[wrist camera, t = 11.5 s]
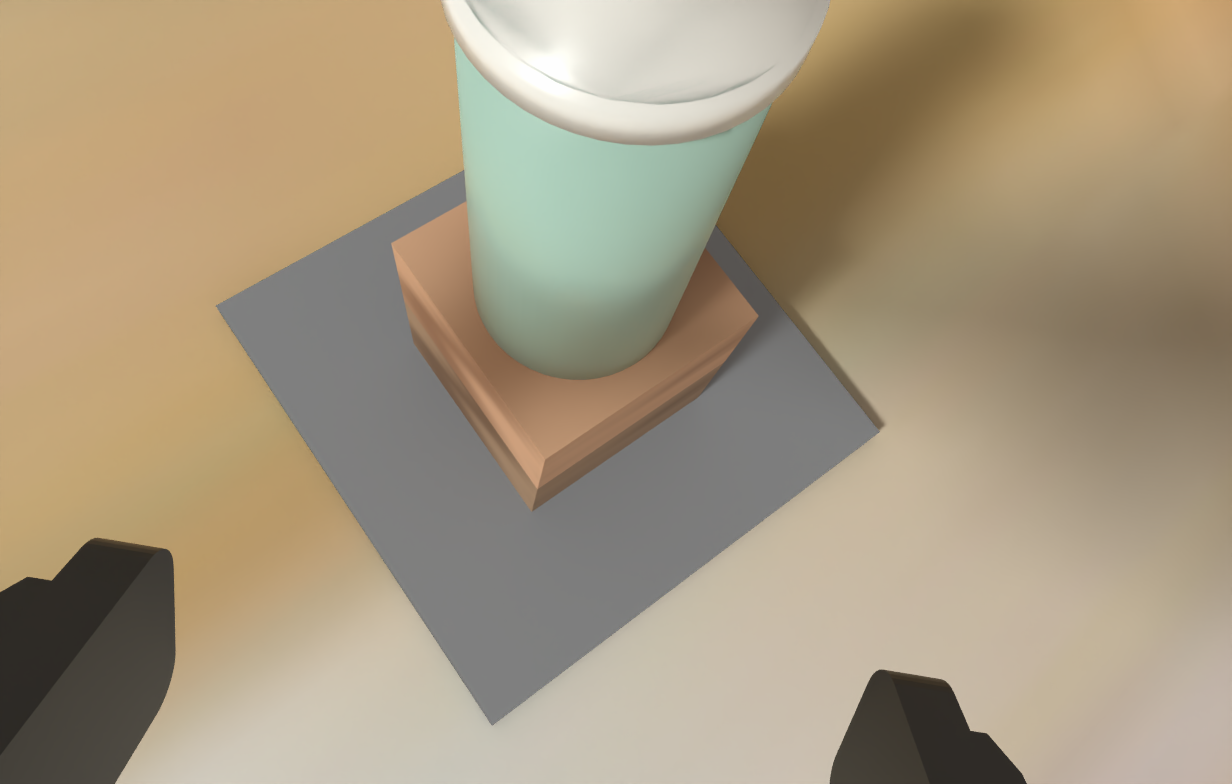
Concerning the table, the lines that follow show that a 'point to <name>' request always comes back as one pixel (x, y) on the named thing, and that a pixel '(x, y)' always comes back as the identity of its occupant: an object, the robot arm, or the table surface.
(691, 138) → the sage canister
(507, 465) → the walnut block
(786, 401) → the slate mat
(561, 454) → the cherry block
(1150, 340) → the table surface
